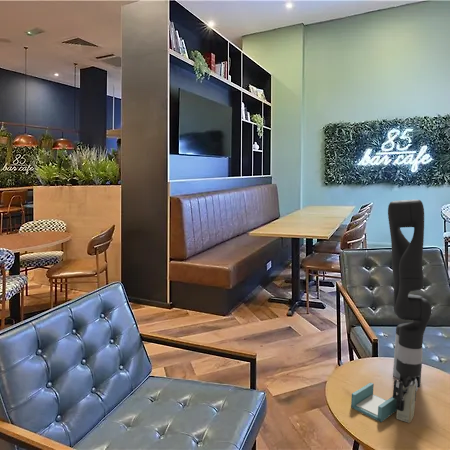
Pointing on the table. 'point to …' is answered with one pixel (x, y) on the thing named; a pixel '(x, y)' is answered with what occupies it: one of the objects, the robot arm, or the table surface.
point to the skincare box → (408, 405)
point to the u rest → (372, 403)
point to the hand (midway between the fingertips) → (405, 405)
